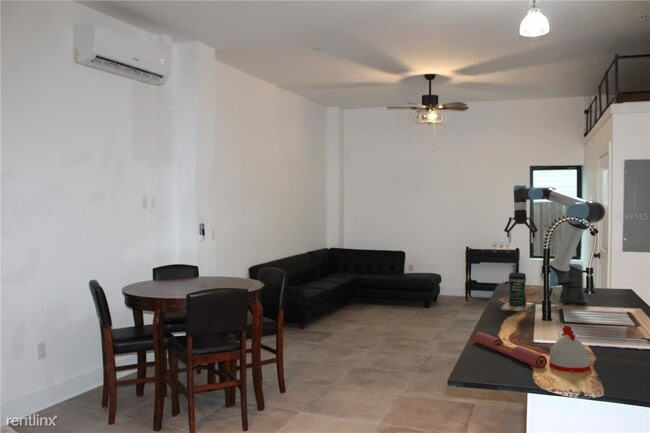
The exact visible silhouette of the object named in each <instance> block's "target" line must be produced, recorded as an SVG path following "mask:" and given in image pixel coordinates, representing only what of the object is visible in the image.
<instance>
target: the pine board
mask: <svg viewBox="0 0 650 433" xmlns="http://www.w3.org/2000/svg"><path fill="white" fill-rule="evenodd" d="M534 304H535V303H534V302H526V305H523V306H519V305H510V304H509V301H508V302H506V303H504V304H503V305H502V306H501V307H500V311H513V312H514V311H516V312H527V311H530V310H531V309H532V306H533V307H534V306H535V305H534Z"/></svg>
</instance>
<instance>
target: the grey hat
mask: <svg viewBox="0 0 650 433" xmlns="http://www.w3.org/2000/svg"><path fill="white" fill-rule="evenodd" d="M562 333H563V335H562V336H561V337H559V338H558V339H557V340H556V341H555V342H554V344H553V346H551V347H550V349H549V350H550V351H549V363H548V365H549V367H550V368H551V369H553V370H557V371H560V372H561V371H562V372H565V373H568V372H569V373H583V372H588V371H590V369H591V361H590V354H589V353H590V352H589V349H586V347H585V345H584V344H583V343H582V341H581V340H580V339H579V338H578V337H576V334H574V330H572V326H569V325H564V326H563V327H562Z"/></svg>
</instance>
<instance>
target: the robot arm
mask: <svg viewBox="0 0 650 433" xmlns="http://www.w3.org/2000/svg"><path fill="white" fill-rule="evenodd" d="M528 200H529V201H536V200H547V201H550V202H552V203H555V204H558V205H560V206H563V207H565V208H567V209H566V212H565V216H566V217H567V216H574V217H578V218H582V219H585V220H587V221H588V222H589V223H590V224H593V223H599V222H600V221H601V220H603V219H604V217H605V215H606V208H605V206H604V205H603V204H602V203H601V202H598V201H595V200H591V199H588V200H586V199H583V198H580V197H577V196H574V195H571V194H569V193H565V192H563V191H560V190H557V188H555V187H553V186H547V187H543V186H542V187H527V185H526V184H517V185H516V184H515V185H514V186H513V215H514V216H513V217H512V216H510V217H509V218H508V221H507V223H506V226H505V228H504V229H503V232H505V233H506V237H507V239H508V243H509V244H511V243H512V232H511V231H512V230H513V229H514V228H515V227H516V225H525V226H526V227H527V228H528V229H529V230H530V231H531V233H530V243H531V244H534V238H536V232H538V231H539V230H538V228H537V226H536V224H535V222H534V220H533V217H532V216H527V215H528V212H527V208H528V207H527V201H528ZM512 221H514V222H513V223H512ZM528 222H530V224H531V225H530V224H529V223H528ZM511 223H512V224H511ZM566 223H567V224H568V225H567V227H566V230H565V232H564V235H563V237H562V240H561V241H560V244H559V246H558V248H557V251H556V254H555V256H554V257H553V258H554V259H551V260H549V263H550V270H551V273H550V286H549V287H553V288H554V287H559V286H561V290H560V294H559V296H558V301H559V302H560V303H564V304H565V303H566V304H584V303H585V304H586V303H587V296H586V294H585V291H584V284H583V283H584V278H583V277H584V274H583V273H584V271H583V270H584V269H583V265H582V264H581V263H580V264H579V263H572V262H571V261H572V258H573V256H574V254H575V252H576V250H577V247H578V245H579V243H580V240H581V238H582V236H583V233H584V232H585V231H587V230H588V229H589V227H587V226H586V225H584V224H583V223H581V222H579V221H567V220H566ZM510 225H511V226H510ZM540 277H541V280H542V281H543V273H542V270H541V272H540Z"/></svg>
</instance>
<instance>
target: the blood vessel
mask: <svg viewBox="0 0 650 433" xmlns="http://www.w3.org/2000/svg"><path fill="white" fill-rule="evenodd" d="M473 336H474V337H473V340H474V342H475V343H477V344H479V345H482V346H484V347H487V348H489V349H491V350H493V351H496V352H499V353H501V354H504V355H506V356H508V357H511V358H512V359H516V360H518V361H520V362H523V363H524V364H527V365H530V366H533V367H535V368H537V369H543V368H545V367H546V366H547V364H548V359H547V357H546V356H545V355H543V354H541V353H538V352H535V351H532V350H530V349H527V348H525V347H522V346H519V345H517V346H514V347H511V346H508V345H505V344H504V342H503V340H502V339H500V338H499V337H495V336H493V335H490V334H487V333H484V332H482V331H477V332H475V334H474V335H473Z"/></svg>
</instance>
